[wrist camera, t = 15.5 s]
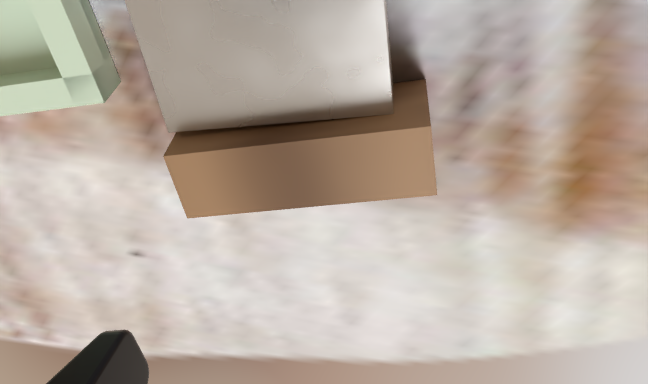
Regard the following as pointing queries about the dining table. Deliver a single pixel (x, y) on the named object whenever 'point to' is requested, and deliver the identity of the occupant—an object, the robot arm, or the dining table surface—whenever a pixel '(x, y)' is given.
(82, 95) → the tray
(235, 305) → the dining table surface
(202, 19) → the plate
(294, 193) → the block
